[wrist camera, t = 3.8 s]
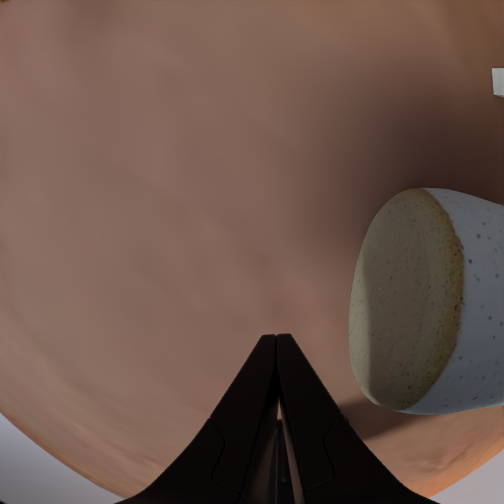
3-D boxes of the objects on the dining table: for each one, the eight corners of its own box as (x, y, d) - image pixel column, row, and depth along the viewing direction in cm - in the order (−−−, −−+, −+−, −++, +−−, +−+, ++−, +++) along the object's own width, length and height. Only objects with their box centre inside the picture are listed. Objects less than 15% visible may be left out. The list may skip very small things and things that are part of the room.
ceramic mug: (367, 154, 10) (512, 264, 3) (512, 195, 10) (622, 282, 3) (314, 360, 15) (326, 497, 8) (438, 358, 15) (478, 462, 8)
